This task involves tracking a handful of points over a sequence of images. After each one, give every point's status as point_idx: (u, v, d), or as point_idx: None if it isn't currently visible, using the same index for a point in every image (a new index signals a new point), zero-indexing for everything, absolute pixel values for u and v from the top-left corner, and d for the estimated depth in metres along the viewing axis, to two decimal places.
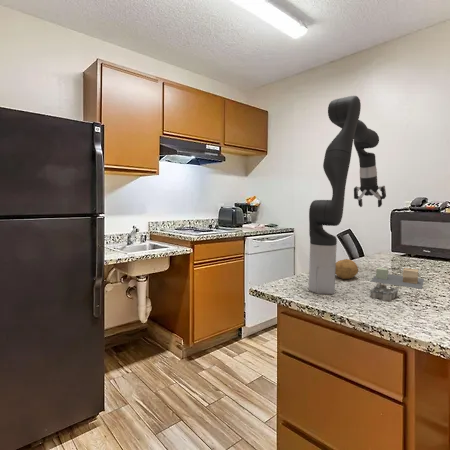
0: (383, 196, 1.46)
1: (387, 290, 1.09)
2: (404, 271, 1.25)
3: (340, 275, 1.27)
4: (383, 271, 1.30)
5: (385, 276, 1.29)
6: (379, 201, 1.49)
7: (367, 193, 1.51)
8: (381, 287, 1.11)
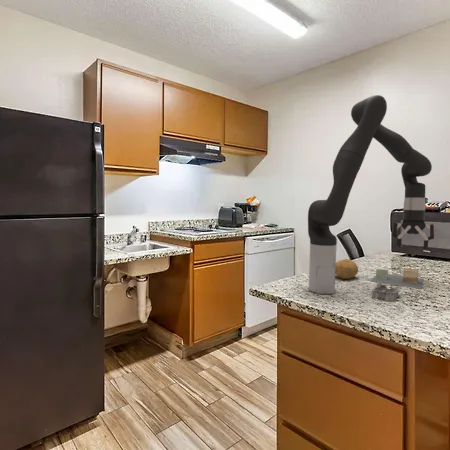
0: (432, 236, 1.20)
1: (387, 290, 1.09)
2: (404, 271, 1.25)
3: (340, 275, 1.27)
4: (383, 271, 1.30)
5: (385, 276, 1.29)
6: (425, 242, 1.22)
7: (411, 231, 1.24)
8: (381, 287, 1.11)
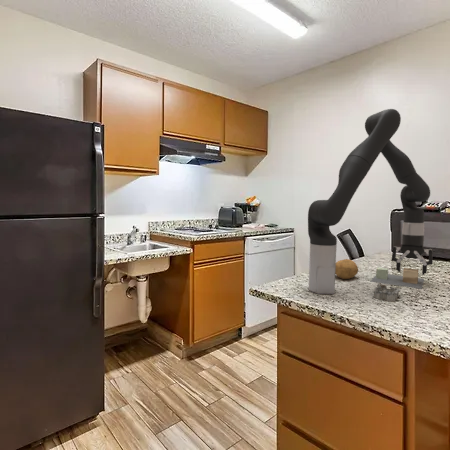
0: (430, 261, 1.21)
1: None
2: (404, 271, 1.25)
3: (340, 275, 1.27)
4: (383, 271, 1.30)
5: (385, 276, 1.29)
6: (424, 267, 1.22)
7: (410, 255, 1.25)
8: (381, 287, 1.11)
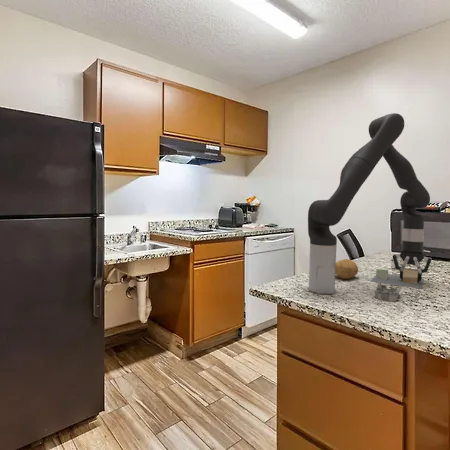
0: (425, 269, 1.22)
1: None
2: (404, 271, 1.25)
3: (340, 275, 1.27)
4: (383, 271, 1.30)
5: (385, 276, 1.29)
6: (419, 275, 1.23)
7: (409, 261, 1.25)
8: (381, 287, 1.11)
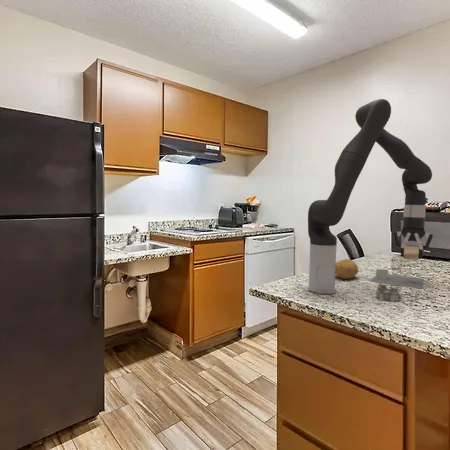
0: (426, 245, 1.21)
1: None
2: (405, 248, 1.24)
3: (340, 275, 1.27)
4: (383, 271, 1.30)
5: (385, 276, 1.29)
6: (420, 251, 1.23)
7: (410, 238, 1.24)
8: (381, 287, 1.11)
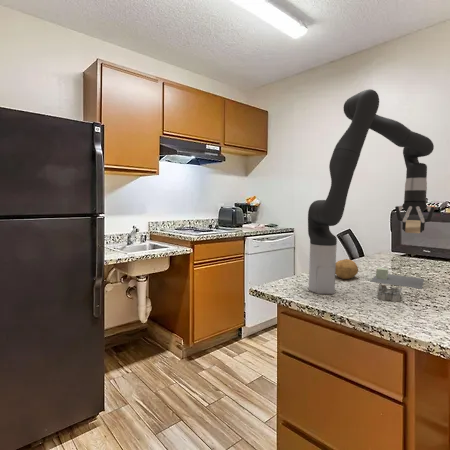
0: (428, 218, 1.20)
1: None
2: (407, 221, 1.23)
3: (340, 275, 1.27)
4: (383, 271, 1.30)
5: (385, 276, 1.29)
6: (422, 224, 1.22)
7: (412, 211, 1.23)
8: (381, 287, 1.11)
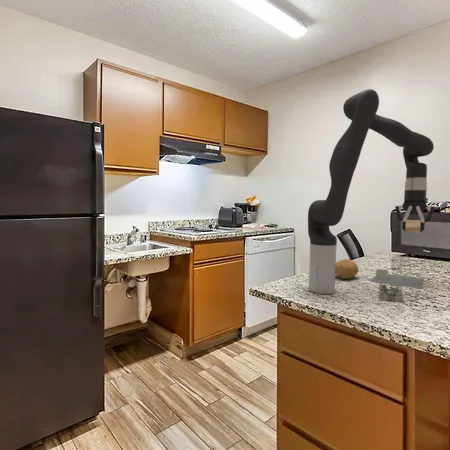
0: (428, 218, 1.20)
1: None
2: (407, 221, 1.23)
3: (340, 275, 1.27)
4: (383, 271, 1.30)
5: (385, 276, 1.29)
6: (422, 224, 1.22)
7: (412, 211, 1.23)
8: None
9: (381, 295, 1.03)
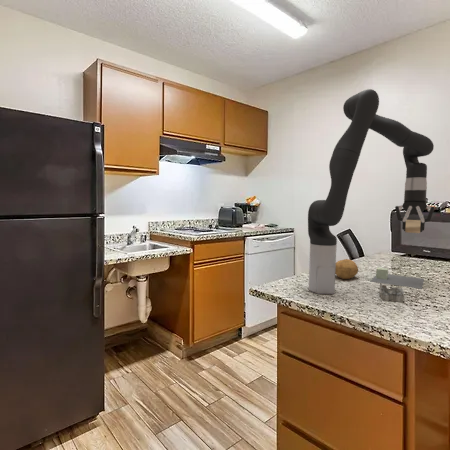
0: (428, 218, 1.20)
1: None
2: (407, 221, 1.23)
3: (340, 275, 1.27)
4: (383, 271, 1.30)
5: (385, 276, 1.29)
6: (422, 224, 1.22)
7: (412, 211, 1.23)
8: None
9: (382, 295, 1.03)
